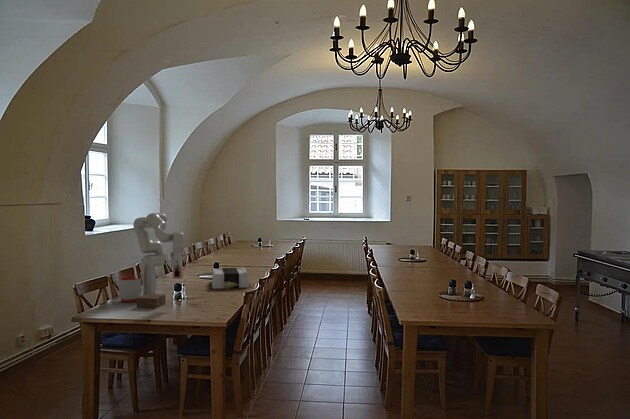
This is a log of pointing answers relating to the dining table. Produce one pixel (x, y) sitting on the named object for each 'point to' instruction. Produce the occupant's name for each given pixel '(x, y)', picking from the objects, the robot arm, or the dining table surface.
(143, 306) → the walnut block
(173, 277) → the terracotta block
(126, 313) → the dining table surface
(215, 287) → the grey black bridge block
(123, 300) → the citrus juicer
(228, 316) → the dining table surface
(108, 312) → the dining table surface
